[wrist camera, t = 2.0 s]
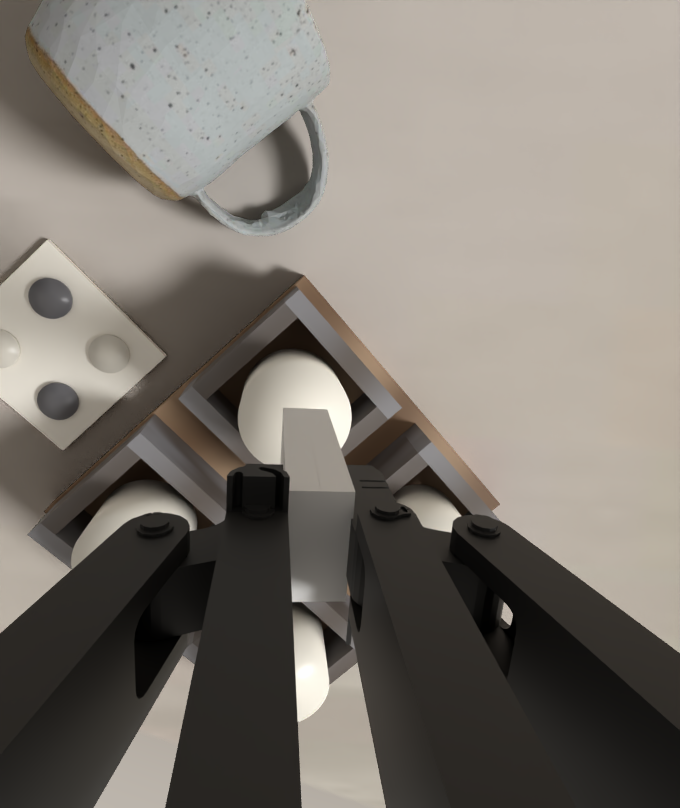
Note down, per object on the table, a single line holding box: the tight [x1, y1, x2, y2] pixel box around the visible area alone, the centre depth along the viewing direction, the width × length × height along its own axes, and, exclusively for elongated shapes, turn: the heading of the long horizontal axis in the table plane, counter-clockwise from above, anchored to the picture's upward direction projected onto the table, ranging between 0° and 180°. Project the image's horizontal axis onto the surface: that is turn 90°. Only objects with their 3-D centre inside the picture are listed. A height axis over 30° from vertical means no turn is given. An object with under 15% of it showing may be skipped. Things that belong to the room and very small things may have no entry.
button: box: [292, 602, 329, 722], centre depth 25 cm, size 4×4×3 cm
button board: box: [28, 275, 500, 685], centre depth 25 cm, size 16×17×4 cm
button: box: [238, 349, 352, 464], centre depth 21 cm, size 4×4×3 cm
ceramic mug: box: [25, 0, 330, 236], centre depth 19 cm, size 11×8×8 cm
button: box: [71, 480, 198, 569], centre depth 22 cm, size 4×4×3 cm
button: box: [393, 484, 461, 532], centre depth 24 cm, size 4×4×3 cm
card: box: [0, 240, 167, 451], centre depth 24 cm, size 7×7×1 cm
